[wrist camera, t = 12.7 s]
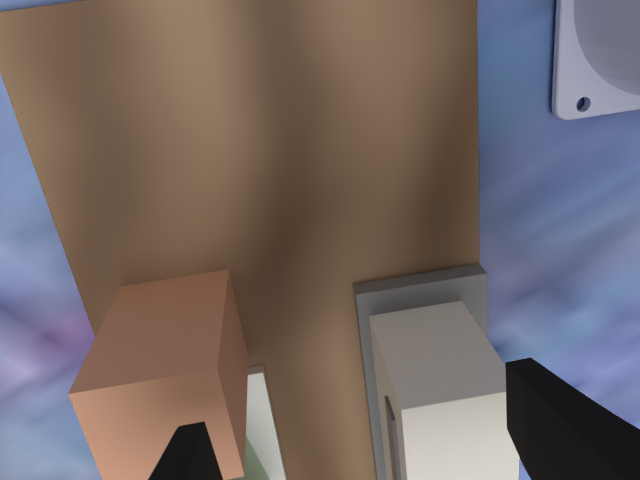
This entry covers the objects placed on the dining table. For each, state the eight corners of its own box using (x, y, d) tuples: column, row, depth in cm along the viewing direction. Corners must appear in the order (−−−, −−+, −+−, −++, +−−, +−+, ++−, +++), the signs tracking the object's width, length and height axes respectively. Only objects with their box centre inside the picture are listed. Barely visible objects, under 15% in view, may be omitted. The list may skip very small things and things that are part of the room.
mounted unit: (479, 263, 21) (555, 355, 16) (481, 485, 26) (539, 613, 21) (352, 284, 21) (385, 385, 15) (378, 503, 26) (410, 638, 20)
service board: (465, -53, 18) (476, -55, 17) (473, 468, 27) (481, 485, 26) (-6, 14, 17) (-21, 14, 16) (172, 522, 26) (169, 541, 26)
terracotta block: (228, 268, 20) (217, 368, 15) (248, 356, 22) (244, 476, 16) (120, 286, 20) (67, 393, 15) (148, 373, 22) (111, 500, 16)
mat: (262, 364, 22) (262, 372, 22) (295, 518, 26) (296, 528, 25) (114, 389, 22) (111, 398, 21) (169, 541, 26) (167, 551, 25)
